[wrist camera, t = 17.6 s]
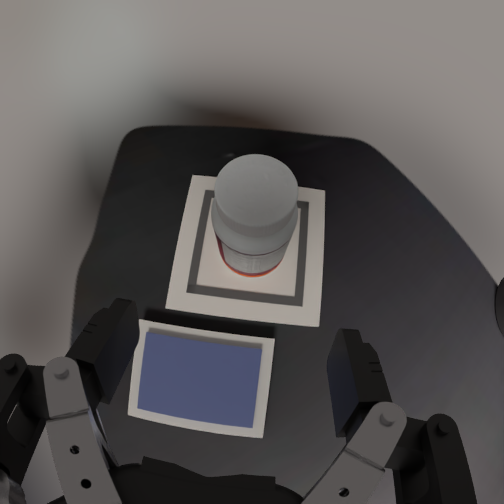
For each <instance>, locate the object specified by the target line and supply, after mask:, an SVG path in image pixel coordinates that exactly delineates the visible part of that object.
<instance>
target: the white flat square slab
mask: <svg viewBox="0 0 504 504" xmlns="http://www.w3.org/2000/svg"><path fill="white" fill-rule="evenodd" d="M216 179H217V177H210V176H198V175H193V176H192V180H191V184H190V188H189V192H188V197H187V201H186V205H185V210H184V214H183V219H182V224H181V228H180V233H179V238H178V243H177V248H176V253H175V258H174V263H173V269H172V274H171V279H170V285H169V291H168V297H167V303H166V308H167V309H173V310H180V311H186V312H193V313H199V314H206V315H214V316H221V317H229V318H236V319H245V320H253V321H262V322H271V323H281V324H291V325H301V326H313V327H319V319H320V306H321V291H322V274H323V253H324V223H325V191H324V190H318V189H311V188H304V187H298V200H297V207H298V219H297V224H296V227H295V230H294V232H293V235H292V237H291V240H290V242H289V245H288V247H287V250H286V252H285V255H284V257H283V259H282V261H281V263H280V264H279V266H278V267H277V268H276V269H275V270H274V271H272V272H271V273H269V274H267V275H265V276H262V277H257V278H248V277H243V276H240V275H238V274H236V273H234V272H233V271H231V270H230V269H229V268H228V267H227V266H226V265H225V263H224V262H223V260H222V258H221V255H220V252H219V248H218V244H217V240H216V236H215V232H214V228H213V225H212V220H211V207H212V202H213V199H214V197H215V194H214V187H215V182H216Z"/></svg>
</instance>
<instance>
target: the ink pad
mask: <svg viewBox="0 0 504 504" xmlns="http://www.w3.org/2000/svg"><path fill="white" fill-rule="evenodd" d="M139 328H140V337H139V342H138V345H137V347H136V349H135V352H134V360H133V368H132V377H131V386H130V396H129V407H128V415H131V416H134V417H138V418H142V419H146V420H150V421H155V422H159V423H164V424H168V425H173V426H178V427H183V428H188V429H194V430H200V431H206V432H213V433H220V434H227V435H236V436H245V437H255V438H263V431H264V424H265V416H266V409H267V401H268V393H269V385H270V376H271V368H272V359H273V350H274V341H275V339H271V338H261V337H252V336H244V335H236V334H228V333H220V332H213V331H206V330H199V329H193V328H186V327H180V326H174V325H168V324H163V323H157V322H151V321H146V320H141V319H139Z"/></svg>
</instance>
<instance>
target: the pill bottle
mask: <svg viewBox="0 0 504 504" xmlns="http://www.w3.org/2000/svg"><path fill="white" fill-rule="evenodd" d="M214 194H215V197H214V199H213V202H212V207H211V220H212V225H213V228H214V232H215V236H216V240H217V244H218V248H219V252H220V255H221V258H222V260H223V262H224V263H225V265H226V266H227V267H228V268H229V269H230V270H231V271H233V272H234V273H236V274H238V275H240V276H243V277H248V278H257V277H262V276H265V275H267V274H269V273H271V272H272V271H274V270H275V269H276V268H277V267H278V266H279V264H280V263H281V261H282V259H283V257H284V255H285V252H286V250H287V247H288V245H289V242H290V240H291V237H292V235H293V232H294V230H295V227H296V224H297V219H298V207H297V200H298V184H297V181H296V178H295V176H294V174H293V173H292V172H291V170H290V169H289V168H288V167H287V166H286V165H285V164H284V163H282V162H281V161H279V160H277V159H275V158H273V157H270V156H266V155H261V154H250V155H244V156H241V157H238V158H236V159H234V160H232V161H230V162H229V163H228V164H227V165H225V166H224V167H223V169H222V170H221V171H220V173H219V174H218V176H217V179H216V182H215V187H214Z"/></svg>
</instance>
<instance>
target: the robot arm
mask: <svg viewBox="0 0 504 504" xmlns="http://www.w3.org/2000/svg"><path fill="white" fill-rule="evenodd" d="M495 308H496V317H497V322H498V325H499V328H500V330H501V332H502V334H503V336H504V278H503V279H502V280H501V282H500V284H499V286H498V289H497V293H496V306H495ZM139 337H140V328H139V321H138V314H137V307H136V303H135V301H131V300H126V299H121V298H116V299H115V300H114V302H113V303H112V304H111V306H110V307H109V309H107V308H103V309H101V310H100V311H98V312H97V313H95V314H94V315H93V317H92V318H91V319H90V321H89V322H88V325H86V326H85V328H84V329H83V332H81V334H80V335H79V336H78V338H77V339H76V341H75V342H74V344H73V345H72V347H71V348H70V350H69V351H68V353H67V354H66V356H65V357H58V358H55V359H52V360H51V361H49V362H48V363H47V365H46V366H32V365H27V364H26V362H25V360H24V358H23V357H22V356H20V355H18V354H9V355H6V356H4V357H3V358H1V359H0V504H26V500H25V494H24V491H23V489H22V487H21V484H22V481H23V479H24V476H25V473H26V471H27V468H28V466H29V463H30V460H31V458H32V455H33V453H34V451H35V448H36V446H37V443H38V441H39V438H40V436H41V434H42V432H43V429H44V427H45V425H46V428H47V433H48V438H49V442H50V447H51V451H52V455H53V459H54V463H55V467H56V470H57V474H58V477H59V480H60V484H61V487H62V490H63V493H64V495H63V496H61V497H60V498H57V499H56V500H53V501H51V502H49V503H47V504H366V503H367V502H368V500H369V498H370V497H371V495H372V494H373V492H374V491H375V489H376V487H377V486H378V484H379V482H380V481H381V479H382V477H383V475H384V473H385V470H384V467H385V468H390V469H392V470H393V478H394V486H395V495H396V504H477V500H476V495H475V491H474V486H473V482H472V477H471V473H470V469H469V465H468V462H467V458H466V454H465V451H464V447H463V444H462V440H461V437H460V434H459V430H458V427H457V425H456V423H455V421H454V420H453V419H452V418H451V417H449V416H447V415H445V414H435V415H433V416H431V417H430V418H429V419H428V421H423V420H418V419H413V418H409V417H406V415H405V413H404V411H403V410H402V409H401V408H400V407H399V406H398V405H396V404H394V403H392V400H391V396H390V393H389V390H388V386H387V383H386V380H385V377H384V374H383V373H382V371H383V370H382V367H381V364H380V361H379V358H378V355H377V352H376V351H375V350H374V349H373V347H372V346H371V345H370V344H369V343H363V342H362V339H361V335H360V332H359V331H358V330H354V329H339V330H338V332H337V334H336V337H335V340H334V343H333V345H332V348H331V351H330V353H329V356H328V360H327V373H328V380H329V387H330V394H331V401H332V408H333V416H334V424H335V432H336V437H346V443H347V444H346V445H345V446H344V448H343V449H342V450H341V452H340V453H339V454H338V456H337V457H336V458H335V460H334V461H333V462H332V464H331V465H330V466H329V468H328V469H327V470H326V471H325V473H324V474H323V475H322V476H321V478H320V479H319V480H318V481H317V482H316V484H315V485H314V486H313V487H312V488H311V489H310V490H309V492H308V493H307V494H306V495H305V496H304V497H301V496H300V495H299V494H297V493H296V492H294V491H292V490H290V489H288V488H286V487H283V486H281V485H277V484H275V477H271V476H256V475H244V474H241V475H232V476H220V477H205V476H202V475H200V474H197V473H195V472H192V471H190V470H188V469H185V468H183V467H181V466H179V465H176V464H174V463H169V462H165V461H160V460H156V459H152V458H148V457H145V456H144V457H143V460H142V463H133V464H126V465H121V466H119V464H118V462H117V460H116V458H115V456H114V454H113V452H112V450H111V447H110V445H109V442H108V439H107V437H106V434H105V431H104V428H103V426H102V423H101V420H100V417H99V414H98V411H97V406H98V404H99V402H103V403H106V404H110V402H111V399H112V397H113V395H114V393H115V391H116V389H117V386H118V384H119V382H120V380H121V378H122V376H123V374H124V371H125V369H126V367H127V365H128V363H129V361H130V359H131V357H132V355H133V353H134V351H135V349H136V347H137V345H138V342H139ZM15 405H17V406H16V408H15V410H14V412H13V414H12V416H11V418H10V420H9V422H8V423H7V421H8V419H9V417H10V415H11V413H12V411H13V409H14V407H15Z"/></svg>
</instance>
